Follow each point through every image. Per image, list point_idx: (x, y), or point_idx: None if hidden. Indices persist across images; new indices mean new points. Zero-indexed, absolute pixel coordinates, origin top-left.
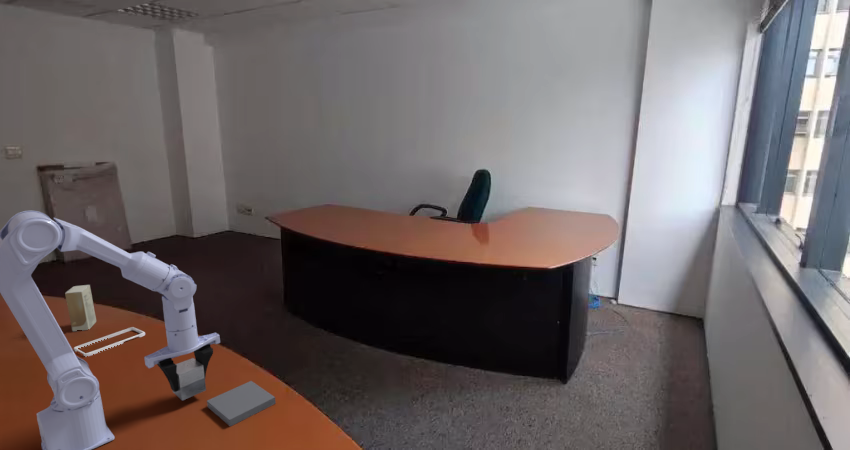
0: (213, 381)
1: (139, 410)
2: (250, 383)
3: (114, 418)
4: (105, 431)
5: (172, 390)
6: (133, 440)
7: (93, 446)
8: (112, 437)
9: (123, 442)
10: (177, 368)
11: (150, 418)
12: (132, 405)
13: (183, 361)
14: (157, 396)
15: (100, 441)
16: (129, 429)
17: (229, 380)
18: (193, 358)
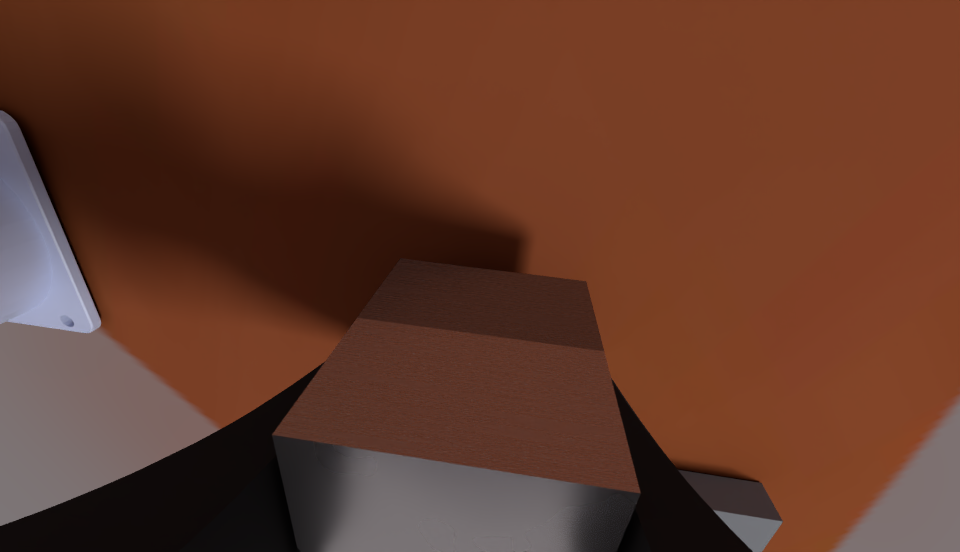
0: (718, 253)
1: (221, 167)
2: (752, 533)
3: (83, 121)
4: (30, 289)
5: (396, 265)
6: (180, 386)
7: (15, 321)
8: (85, 327)
9: (144, 366)
10: (343, 538)
11: (263, 301)
12: (184, 50)
13: (481, 469)
14: (352, 86)
15: (37, 312)
16: (165, 302)
17: (776, 335)
18: (628, 506)
